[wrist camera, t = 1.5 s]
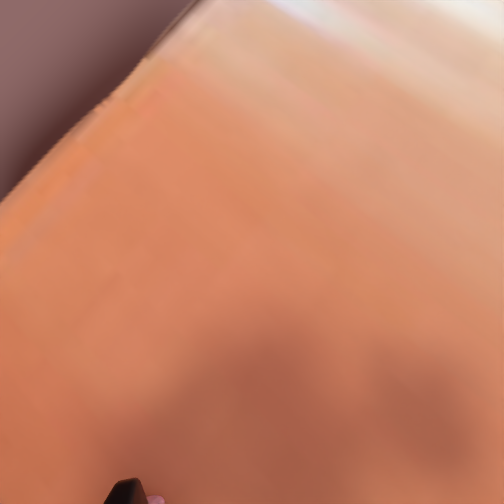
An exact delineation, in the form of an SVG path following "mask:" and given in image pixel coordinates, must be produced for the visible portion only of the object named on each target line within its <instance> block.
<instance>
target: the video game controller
mask: <svg viewBox="0 0 504 504" xmlns="http://www.w3.org/2000/svg"><path fill="white" fill-rule="evenodd" d="M146 498H147V500H148V503H149V504H165V501H164V499H163V497H161V496H159V495H152V496H146Z"/></svg>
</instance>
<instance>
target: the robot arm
mask: <svg viewBox="0 0 504 504" xmlns="http://www.w3.org/2000/svg"><path fill="white" fill-rule="evenodd" d="M104 504H149V503H148V500H147V498H146V495H145V492H144V490H143V487H142V485H141V482H140V480H139V479H138V478H131V479H126V480H121V481H118V482H117V483H116V484H115V485H114V487H113V488H112V490H111V492H110V494H109V495H108V497H107V499H106V500H105V502H104Z"/></svg>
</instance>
